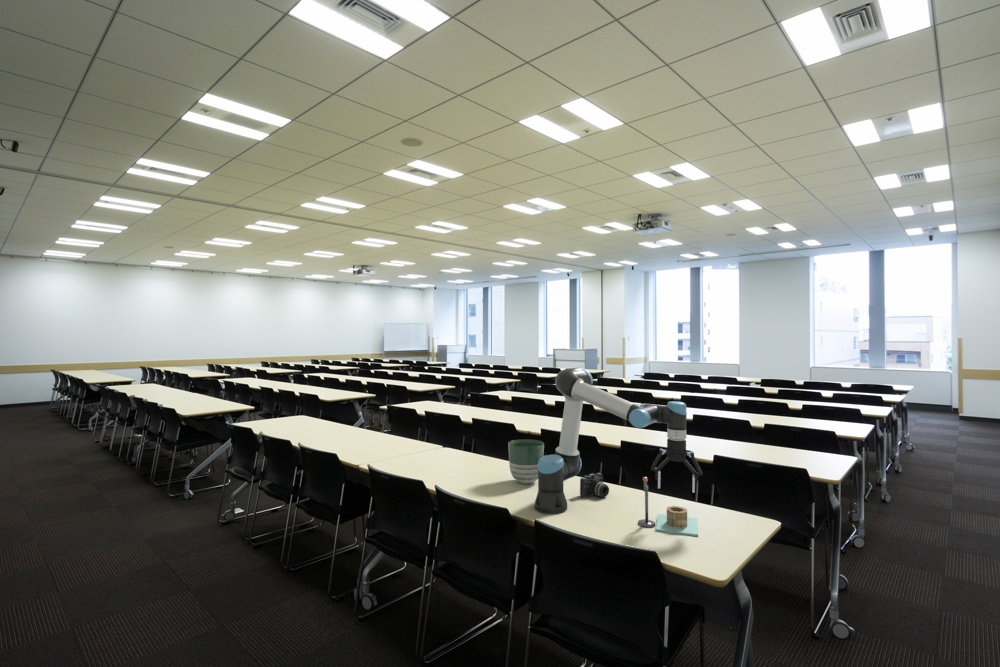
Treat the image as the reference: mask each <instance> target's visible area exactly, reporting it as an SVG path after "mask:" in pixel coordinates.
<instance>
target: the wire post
mask: <svg viewBox="0 0 1000 667" xmlns="http://www.w3.org/2000/svg"><path fill="white" fill-rule="evenodd" d="M648 480H649V478H648V477H647V476H643V477H642V481H643V491H644V516H645V518H643V519H639V520H638V521H637V524H638V526H639V527H642V528H648V529H649V528H656V522H655V521H654V520H650V519H649V485H648Z"/></svg>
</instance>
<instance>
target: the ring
mask: <svg viewBox="0 0 1000 667" xmlns="http://www.w3.org/2000/svg"><path fill="white" fill-rule="evenodd" d="M666 515H667V524H668V525H670V526H672V527H679V528H683V527H687V517H688V509H687V508H686V507H683V506H677V505H671V506H667V507H666Z"/></svg>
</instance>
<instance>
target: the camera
mask: <svg viewBox="0 0 1000 667" xmlns="http://www.w3.org/2000/svg"><path fill="white" fill-rule="evenodd" d="M609 492H610V488H609V486H608V484H606V483H605V482H604V475H603V474H602V473H601V472H597V473H591V474H590V473H589V474H588V475H586V474H585V475H584V477H580V480H579V495H580V497H581V498H588V497H591V495H592V496H594V495H595V496H597V497H600V498H605V497H607V496H608V495H609Z"/></svg>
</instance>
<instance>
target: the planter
mask: <svg viewBox="0 0 1000 667" xmlns="http://www.w3.org/2000/svg"><path fill="white" fill-rule="evenodd" d="M507 444H508V445H507V446H508V447H507V448H508V450H507V451H508V461H509V463H508V464H509V471H510V474H511V476H512V478H513V479H515V481H517V482H518V483H520V484H525V485H528V484H533V483H536V481H538V461H539V459H540V458H541V457H543V456H545V455H544V454H545V452H544V450H545V443H544V442H543V441H542V440H538V439H537V440H536V439H515V440H513V439H512V440H510V441H508V442H507Z"/></svg>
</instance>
